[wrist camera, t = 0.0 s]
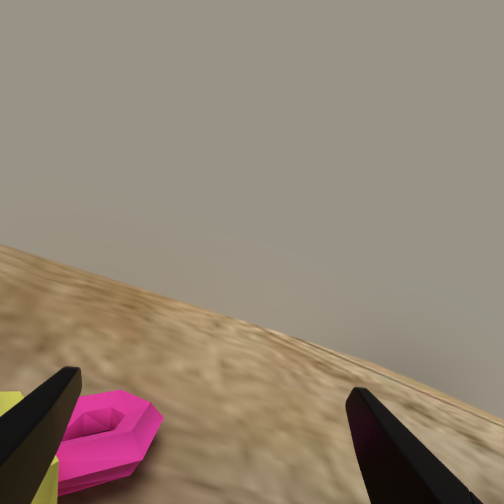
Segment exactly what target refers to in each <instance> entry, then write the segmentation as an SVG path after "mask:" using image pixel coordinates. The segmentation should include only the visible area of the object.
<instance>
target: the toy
mask: <svg viewBox="0 0 504 504" xmlns="http://www.w3.org/2000/svg"><path fill="white" fill-rule="evenodd" d="M23 398H24V397H23V395H22V394H21V392H20V391H18V392H0V416H2V415H3V414H4V413H5V412H7V411H8V410H9V409H11V408H12V407H13V406H14V405H16V404H17V403H18V402H20V401H21V400H22V399H23ZM163 419H164V417H163V416H162V415H161V414H160V413H159V412H158V410H157V409H156V408H155V407H154V406H153V405H152V404H151V402H148V401H146V400H144V399H141V398H139V397H137V396H134V395H132V394H130V393H127V392H125V391H123V390H116V391H111V392H105V393H99V394H94V395H88V396H82V397H79V398H78V401H77V403H76V406H75V408H74V411H73V414H72V416H71V419H70V421H69V424H68V426H67V429H66V431H65V434H64V437H63V439H62V442H61V444H60V446H59V449H58V451H57V453H56V455H55V457H54V459H53V461H52V463H51V465H50V467H49V469H48V471H47V473H46V475H45V477H44V479H43V481H42V483H41V485H40V487H39V489H38V491H37V493H36V495H35V497H34V499H33V501H32V503H31V504H57V497H58V496H62V495H65V494H69V493H72V492H75V491H79V490H82V489H86V488H89V487H93V486H96V485H99V484H103V483H106V482H110V481H113V480H116V479H120V478H123V477H127V476H130V475H131V474H132V472H133V471H134V470H135V469H136V467H137V466H138V465H139V463H140V462H141V461H142V459H143V458H144V456H145V454H146V452H147V450H148V448H149V446H150V444H151V442H152V440H153V438H154V436H155V434H156V432H157V430H158V428H159V426H160V424H161V423H162V421H163ZM107 430H111V431H107ZM102 431H107V432H103V433H98V432H102ZM94 433H98V434H94ZM89 434H94V435H90V436H85V435H89ZM82 436H85V437H82Z"/></svg>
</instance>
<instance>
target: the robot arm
mask: <svg viewBox="0 0 504 504" xmlns="http://www.w3.org/2000/svg"><path fill="white" fill-rule="evenodd" d="M81 389H82V378H81V369H80V368H79V367H70V366H66V367H64V368H62V369H61V370H59V371H58V372H57V373H55V374H54V375H53V376H52V377H50V378H49V379H48V380H46V381H45V382H44V383H43V384H41V385H40V386H39V387H37V388H36V389H35V390H34V391H32V392H31V393H30V394H29V395H27V396H26V397H25V398H23V399H22V400H21V401H20V402H18V403H17V404H16V405H14V406H13V407H12V408H11V409H9V410H8V411H7V412H5V413H4V414H3V415H2V416H0V504H31V503H32V501H33V499H34V497H35V495H36V493H37V491H38V489H39V487H40V485H41V483H42V481H43V479H44V477H45V475H46V473H47V471H48V469H49V467H50V465H51V463H52V461H53V459H54V457H55V455H56V453H57V451H58V449H59V446H60V444H61V442H62V439H63V437H64V434H65V431H66V429H67V426H68V424H69V421H70V419H71V416H72V414H73V411H74V408H75V406H76V403H77V401H78V398H79V396H80V393H81ZM345 407H346V413H347V417H348V422H349V426H350V431H351V435H352V440H353V444H354V449H355V453H356V457H357V460H358V464H359V467H360V470H361V473H362V477H363V480H364V483H365V486H366V489H367V493H368V496H369V499H370V502H371V504H483V503H482V502H481V501H480V500H479V499H478V498H477V497H476V496H475V495H474V494H473V493H472V492H471V491H469V490H468V488H467V487H466V486H465V485H464V484H463V483H462V482H461V481H460V480H459V479H458V478H457V477H456V476H455V475H454V474H453V473H452V472H451V471H450V470H449V469H448V468H447V467H446V466H445V465H444V464H443V463H442V462H441V461H440V460H439V459H438V458H437V457H435V456H434V455H433V454H432V453H431V452H430V451H429V450H428V449H427V448H426V447H425V446H424V445H423V444H422V443H421V442H420V441H419V440H418V439H417V438H416V437H415V436H414V435H413V434H412V433H411V432H410V431H409V430H408V429H407V428H406V427H405V426H404V425H403V424H402V423H401V422H400V421H399V420H398V419H397V418H396V417H395V416H394V415H393V414H392V413H391V412H390V411H389V410H388V409H387V408H386V407H385V406H384V405H383V404H382V403H381V402H380V401H379V400H378V399H377V398H376V397H375V396H374V395H373V394H372V393H371V392H370V391H369V390H368V389H366V388H363V387H354V388H353V389H352V391H351V393H350V395H349V397H348V398H347V400H346V404H345Z"/></svg>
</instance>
